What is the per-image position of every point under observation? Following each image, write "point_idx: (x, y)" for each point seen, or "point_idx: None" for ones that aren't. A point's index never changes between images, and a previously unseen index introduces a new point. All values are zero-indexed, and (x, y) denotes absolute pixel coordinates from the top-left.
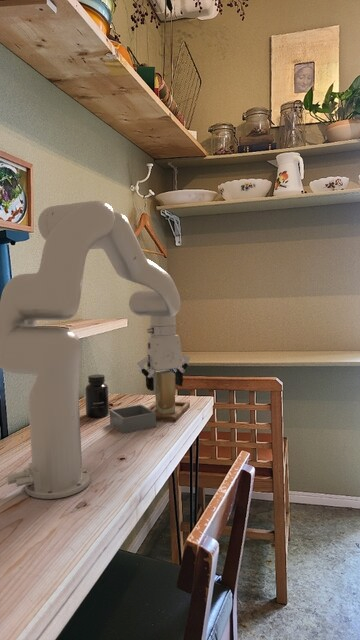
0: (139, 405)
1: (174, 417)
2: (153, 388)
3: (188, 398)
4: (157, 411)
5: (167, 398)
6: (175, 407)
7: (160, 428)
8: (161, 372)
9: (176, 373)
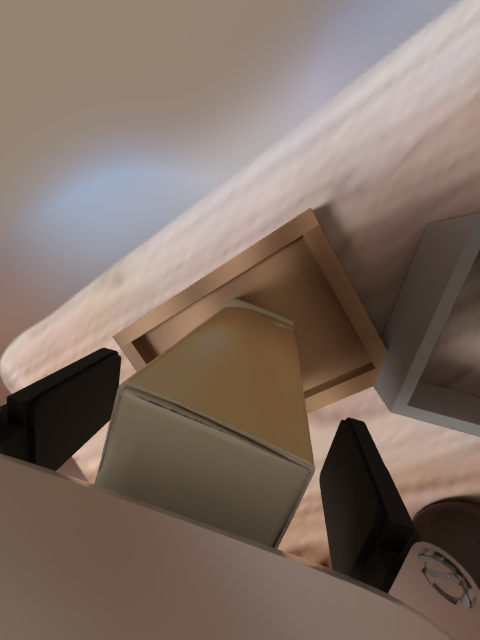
0: (410, 405)
1: (313, 214)
2: (349, 427)
3: None
4: None
5: (264, 330)
6: None
7: (431, 189)
8: None
9: (43, 461)
